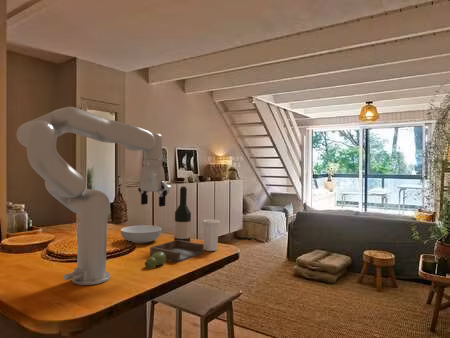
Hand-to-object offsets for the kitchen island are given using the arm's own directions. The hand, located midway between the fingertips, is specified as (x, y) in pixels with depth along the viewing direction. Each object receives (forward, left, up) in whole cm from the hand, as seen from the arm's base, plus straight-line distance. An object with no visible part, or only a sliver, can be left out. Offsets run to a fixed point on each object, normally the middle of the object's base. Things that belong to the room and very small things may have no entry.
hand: (153, 205), depth 137 cm
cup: (+34, -7, -25) cm, 42 cm away
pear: (-1, -3, -25) cm, 25 cm away
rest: (+18, 0, -24) cm, 30 cm away
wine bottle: (+33, +10, -25) cm, 42 cm away
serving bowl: (+26, +32, -25) cm, 48 cm away
